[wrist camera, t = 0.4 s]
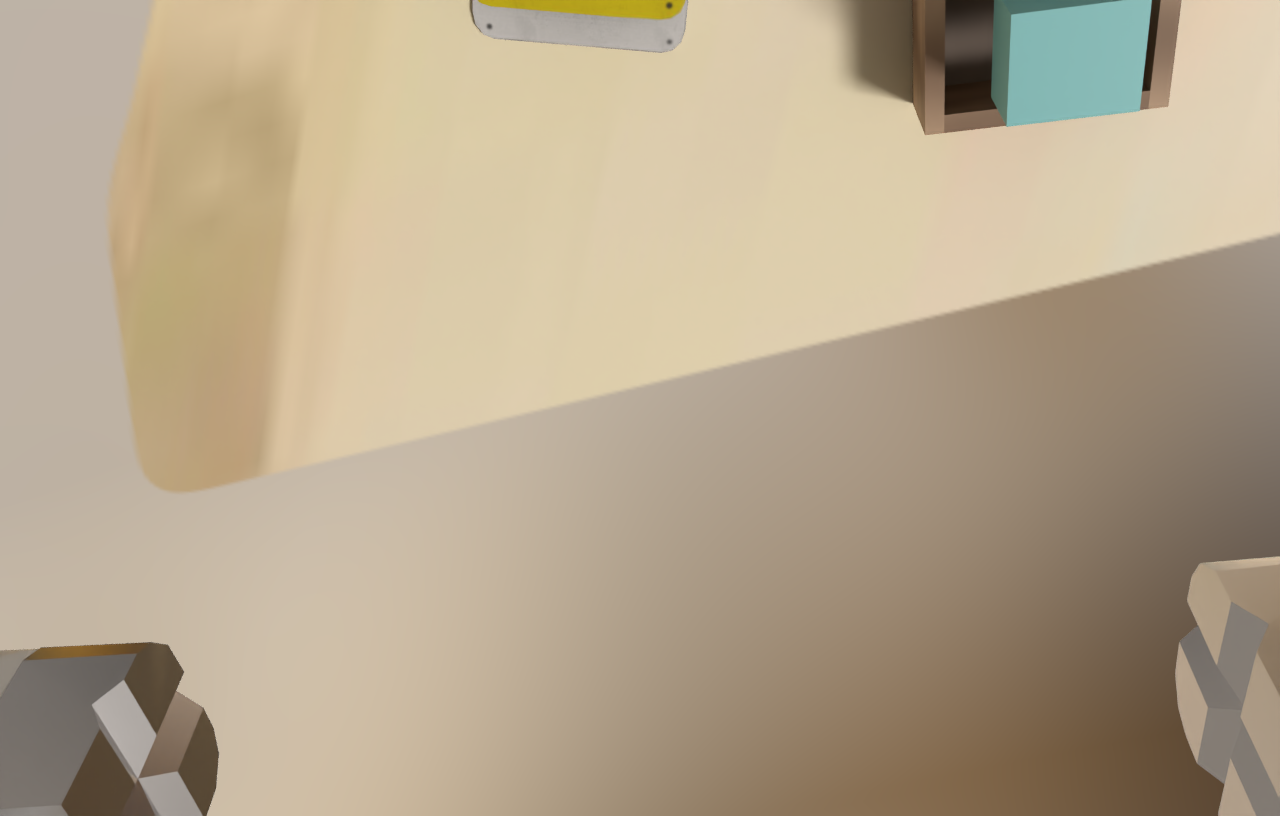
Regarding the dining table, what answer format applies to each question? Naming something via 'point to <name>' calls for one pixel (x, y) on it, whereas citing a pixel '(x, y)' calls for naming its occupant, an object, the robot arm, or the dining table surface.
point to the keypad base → (962, 62)
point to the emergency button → (586, 22)
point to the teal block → (1068, 58)
